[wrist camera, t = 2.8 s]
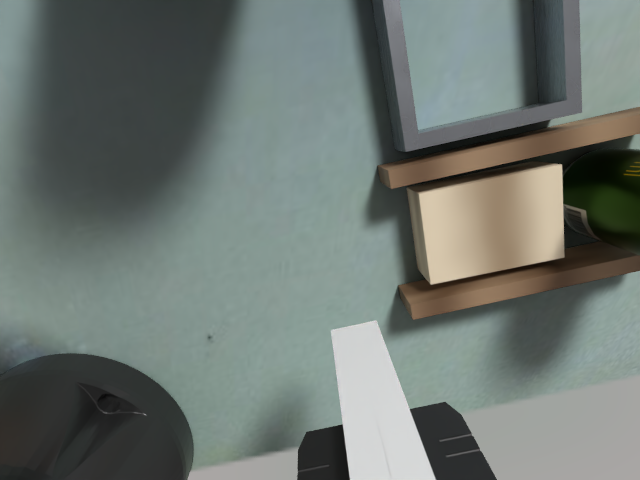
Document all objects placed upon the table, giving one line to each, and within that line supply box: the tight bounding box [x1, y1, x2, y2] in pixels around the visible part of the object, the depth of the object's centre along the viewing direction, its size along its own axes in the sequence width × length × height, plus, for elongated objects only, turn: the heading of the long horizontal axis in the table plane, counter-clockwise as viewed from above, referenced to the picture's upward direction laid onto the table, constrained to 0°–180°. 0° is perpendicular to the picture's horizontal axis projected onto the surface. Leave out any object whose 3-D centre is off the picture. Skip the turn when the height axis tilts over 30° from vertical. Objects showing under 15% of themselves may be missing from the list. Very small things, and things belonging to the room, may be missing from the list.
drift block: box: [406, 161, 565, 285], centre depth 24 cm, size 8×6×3 cm
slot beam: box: [378, 107, 640, 320], centre depth 23 cm, size 16×9×3 cm, turn 102°
